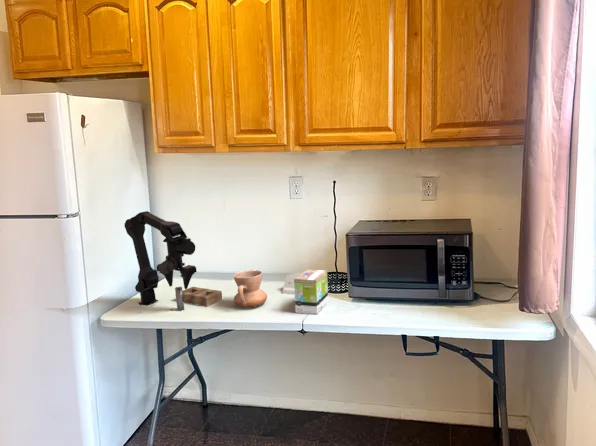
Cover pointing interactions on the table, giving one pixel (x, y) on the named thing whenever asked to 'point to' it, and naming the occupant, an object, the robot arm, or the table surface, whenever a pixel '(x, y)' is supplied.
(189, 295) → the hole block
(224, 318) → the table surface
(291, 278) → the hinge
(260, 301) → the ceramic jug
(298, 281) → the tea box
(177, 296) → the peg
